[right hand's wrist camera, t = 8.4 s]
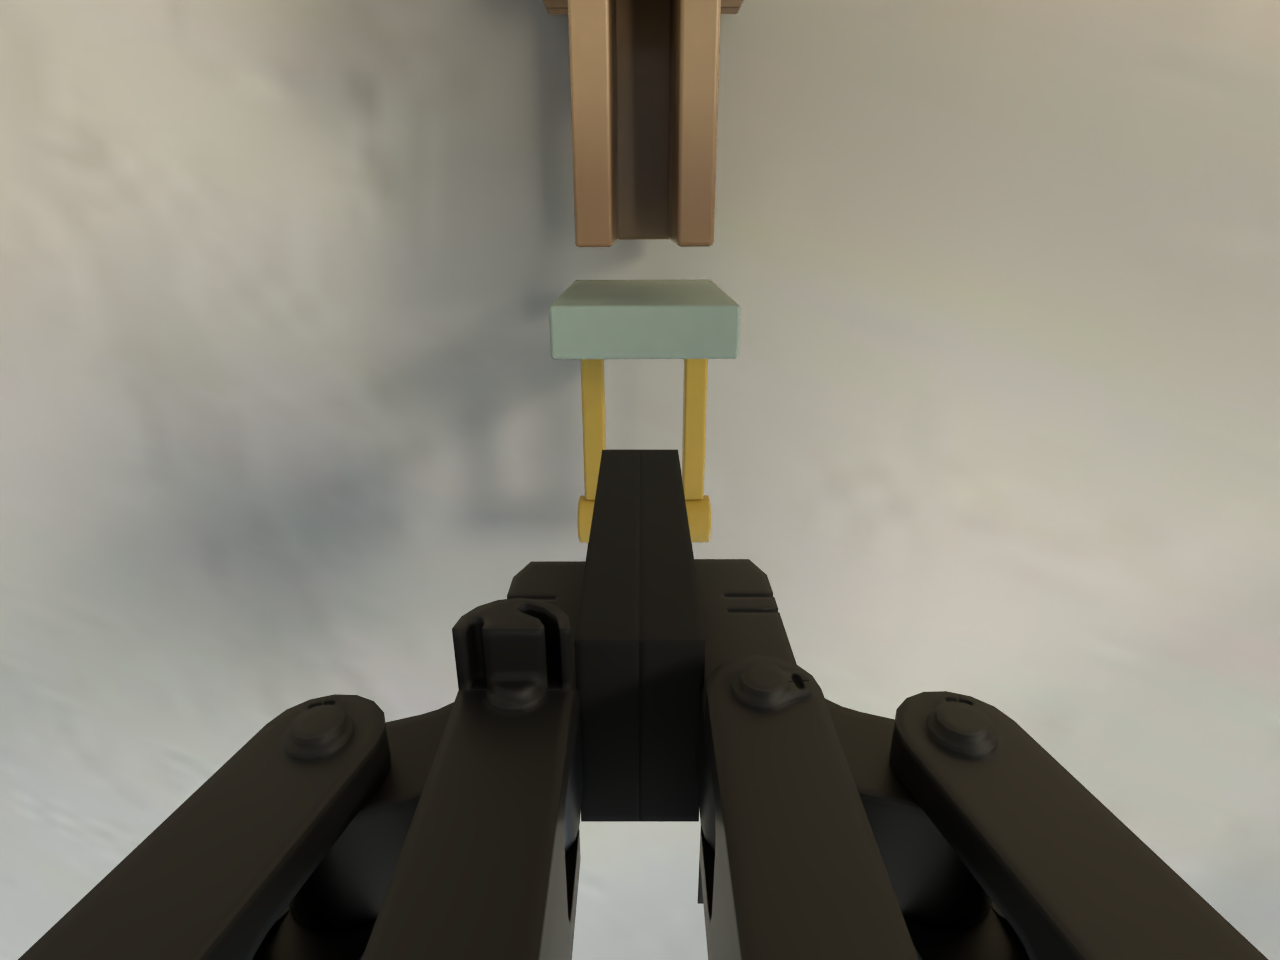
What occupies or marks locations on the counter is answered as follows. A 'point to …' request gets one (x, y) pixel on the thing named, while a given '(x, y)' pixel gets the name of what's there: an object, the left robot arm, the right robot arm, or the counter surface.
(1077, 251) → the counter surface
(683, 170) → the drawer
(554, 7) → the cabinet
